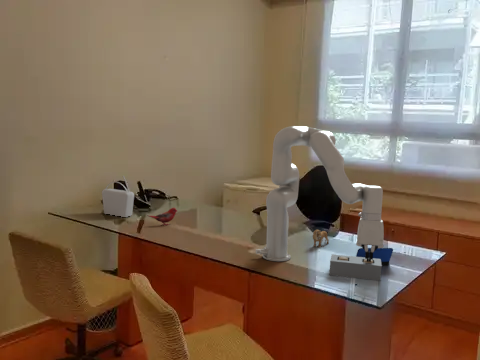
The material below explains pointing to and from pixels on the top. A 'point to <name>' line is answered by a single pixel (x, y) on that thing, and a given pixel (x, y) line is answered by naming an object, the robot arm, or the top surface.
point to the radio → (118, 201)
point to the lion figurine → (319, 237)
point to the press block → (355, 267)
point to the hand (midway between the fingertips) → (368, 260)
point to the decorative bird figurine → (165, 216)
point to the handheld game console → (378, 254)
